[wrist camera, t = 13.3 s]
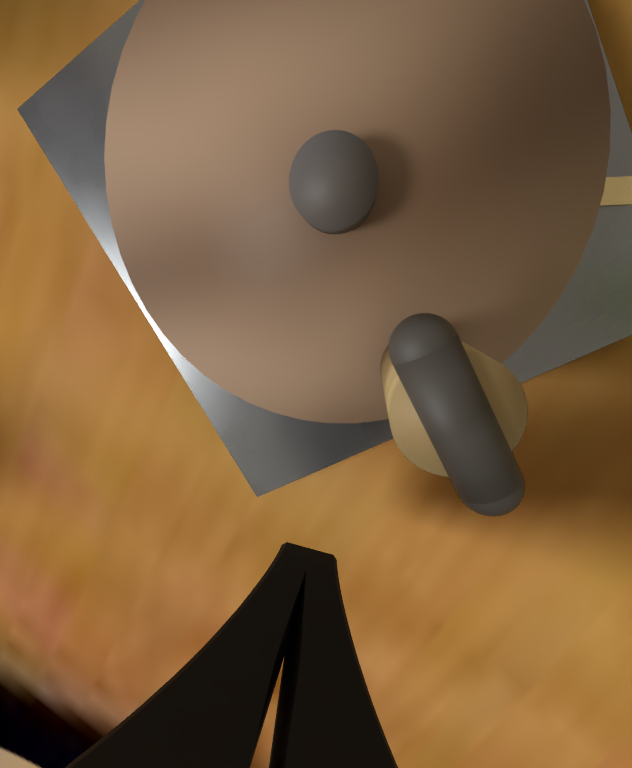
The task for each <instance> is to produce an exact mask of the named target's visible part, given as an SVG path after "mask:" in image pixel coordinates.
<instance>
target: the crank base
mask: <svg viewBox="0 0 632 768" xmlns="http://www.w3.org/2000/svg"><path fill="white" fill-rule="evenodd" d="M144 2H145V0H140V1H139V2H137V3H136V4H135V5H134V6H133V7H132V8H131V9H130V10H128V11H127V12H126V13H125V14H124V15H123V16H122V17H121V18H119V19H118V20H117V21H116V22H115V23H114V24H113V25H112V26H110V27H109V28H108V29H107V30H106V31H105V32H104V33H103V34H101V35H100V36H99V37H98V38H97V39H96V40H95V41H93V42H92V43H91V44H90V45H89V46H88V47H87V48H86V49H84V50H83V51H82V52H81V53H80V54H79V55H78V56H77V57H75V58H74V59H73V60H72V61H71V62H70V63H69V64H68V65H66V66H65V67H64V68H63V69H62V70H61V71H60V72H59V73H57V74H56V75H55V76H54V77H53V78H52V79H51V80H50V81H48V82H47V83H46V84H45V85H44V86H43V87H42V88H41V89H39V90H38V91H37V92H36V93H35V94H34V95H33V96H31V97H30V98H29V99H28V100H27V101H26V102H25V103H24V104H22V105H21V106H20V107H19V108H18V111H19V113H20V114H21V116H22V117H23V119H24V121H25V122H26V124H27V125H28V127H29V129H30V130H31V132H32V134H33V135H34V137H35V138H36V140H37V142H38V143H39V145H40V147H41V148H42V150H43V151H44V153H45V155H46V156H47V158H48V159H49V161H50V163H51V164H52V166H53V168H54V169H55V171H56V172H57V174H58V176H59V177H60V179H61V180H62V182H63V184H64V185H65V187H66V189H67V190H68V192H69V193H70V195H71V197H72V198H73V200H74V202H75V203H76V205H77V206H78V208H79V210H80V211H81V213H82V214H83V216H84V218H85V219H86V221H87V223H88V224H89V226H90V227H91V229H92V231H93V232H94V234H95V235H96V237H97V239H98V240H99V242H100V244H101V245H102V247H103V248H104V250H105V252H106V253H107V255H108V257H109V258H110V260H111V261H112V263H113V265H114V266H115V268H116V269H117V271H118V273H119V274H120V276H121V278H122V279H123V281H124V282H125V284H126V286H127V287H128V289H129V290H130V292H131V294H132V295H133V297H134V299H135V300H136V302H137V303H138V305H139V307H140V308H141V310H142V312H143V313H144V315H145V316H146V318H147V320H148V321H149V323H150V324H151V326H152V328H153V329H154V331H155V333H156V334H157V336H158V337H159V339H160V341H161V342H162V344H163V345H164V347H165V349H166V350H167V352H168V354H169V355H170V357H171V358H172V360H173V362H174V363H175V365H176V367H177V368H178V370H179V371H180V373H181V375H182V376H183V378H184V379H185V381H186V383H187V384H188V386H189V388H190V389H191V391H192V392H193V394H194V396H195V397H196V399H197V400H198V402H199V404H200V405H201V407H202V409H203V410H204V412H205V413H206V415H207V417H208V418H209V420H210V422H211V423H212V425H213V426H214V428H215V430H216V431H217V433H218V434H219V436H220V438H221V439H222V441H223V443H224V444H225V446H226V447H227V449H228V451H229V452H230V454H231V455H232V457H233V459H234V460H235V462H236V464H237V465H238V467H239V468H240V470H241V472H242V473H243V475H244V477H245V478H246V480H247V481H248V483H249V485H250V486H251V488H252V489H253V491H254V493H255V494H256V496H257V497H258V496H261V495H263V494H265V493H268V492H270V491H272V490H275V489H277V488H279V487H282V486H284V485H286V484H288V483H291V482H293V481H295V480H298V479H300V478H302V477H305V476H307V475H309V474H312V473H314V472H316V471H319V470H321V469H323V468H325V467H328V466H330V465H332V464H335V463H337V462H339V461H342V460H344V459H346V458H349V457H351V456H353V455H355V454H358V453H360V452H362V451H365V450H367V449H369V448H372V447H374V446H376V445H379V444H381V443H383V442H385V441H388V440H390V439H392V438H393V435H392V432H391V428H390V422H389V419H386V420H380V421H371V422H362V423H323V422H315V421H308V420H300V419H296V418H293V417H289V416H285V415H281V414H277V413H274V412H271V411H269V410H266V409H263V408H261V407H258V406H256V405H253V404H251V403H248V402H247V401H245V400H243V399H241V398H239V397H237V396H236V395H234V394H232V393H230V392H228V391H226V390H225V389H223V388H222V387H220V386H219V385H218V384H216V383H215V382H213V381H212V380H210V379H209V378H208V377H206V376H205V375H203V374H202V373H201V372H200V371H199V370H198V369H197V368H195V367H194V366H193V365H192V364H191V363H190V362H189V361H188V360H187V359H185V358H184V357H183V356H182V355H181V354H180V353H179V351H178V350H177V349H176V348H175V347H174V346H173V345H172V343H171V342H170V341H169V340H168V339H167V338H166V337H165V336H164V334H163V333H162V332H161V330H160V329H159V327H158V326H157V324H156V323H155V322H154V320H153V319H152V317H151V316H150V314H149V313H148V312H147V310H146V308H145V306H144V305H143V303H142V301H141V299H140V297H139V295H138V294H137V292H136V290H135V288H134V286H133V284H132V282H131V280H130V277H129V275H128V272H127V270H126V267H125V265H124V262H123V260H122V257H121V255H120V252H119V248H118V244H117V241H116V237H115V234H114V230H113V227H112V223H111V217H110V211H109V205H108V199H107V193H106V179H105V162H104V153H105V134H106V120H107V114H108V108H109V102H110V96H111V89H112V85H113V81H114V78H115V74H116V71H117V67H118V64H119V60H120V57H121V53H122V50H123V48H124V45H125V43H126V40H127V38H128V36H129V33H130V31H131V28H132V26H133V23H134V21H135V19H136V16H137V15H138V13H139V11H140V9H141V7H142V6H143V4H144ZM584 2H585V4H586V6H587V9H588V11H589V13H590V16H591V18H592V21H593V23H594V25H595V22H594V19H593V16H592V13H591V10H590V7H589V4H588V1H587V0H584ZM595 28H596V25H595ZM596 32H597V35H598V39H599V43H600V47H601V51H602V55H603V59H604V63H605V67H606V73H607V82H608V91H609V100H610V108H611V117H610V153H609V160H608V167H607V174H606V180H605V187H604V192H603V196H602V200H601V203H600V207H599V210H598V214H597V218H596V221H595V225H594V228H593V231H592V233H591V236H590V238H589V241H588V243H587V246H586V248H585V250H584V253H583V255H582V258H581V260H580V263H579V265H578V266H577V268H576V270H575V272H574V274H573V275H572V277H571V279H570V281H569V283H568V284H567V286H566V288H565V290H564V292H563V293H562V295H561V297H560V298H559V299H558V301H557V302H556V304H555V305H554V306H553V308H552V309H551V311H550V312H549V313H548V315H547V316H546V318H545V319H544V320H543V322H542V323H541V324H540V325H539V327H538V328H537V329H536V330H535V331H534V332H533V333H532V334H531V335H530V336H529V338H528V339H527V340H526V341H525V342H524V343H523V344H522V345H521V346H520V347H519V348H518V350H516V351H515V352H514V353H513V354H512V355H511V356H509V357H508V358H507V359H506V360H505V361H504V362H503V363H501V364H502V365H504V366H505V367H506V368H508V369H509V370H510V371H511V372H512V373H513V374H514V376H515V377H516V378H517V380H518V381H519V382H520V383H522V382H524V381H526V380H529V379H531V378H533V377H536V376H538V375H540V374H543V373H545V372H547V371H549V370H552V369H554V368H556V367H559V366H561V365H563V364H566V363H568V362H570V361H573V360H575V359H577V358H580V357H582V356H584V355H586V354H589V353H591V352H593V351H596V350H598V349H600V348H603V347H605V346H607V345H610V344H612V343H614V342H616V341H619V340H621V339H623V338H626V337H628V336H630V335H632V132H631V129H630V126H629V123H628V120H627V117H626V114H625V111H624V108H623V105H622V102H621V99H620V96H619V93H618V90H617V88H616V85H615V82H614V79H613V76H612V73H611V70H610V67H609V64H608V61H607V58H606V55H605V52H604V49H603V46H602V43H601V40H600V37H599V34H598V31H597V28H596Z"/></svg>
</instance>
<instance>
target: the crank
mask: <svg viewBox="0 0 632 768" xmlns="http://www.w3.org/2000/svg"><path fill="white" fill-rule="evenodd" d="M610 117H611V108H610V100H609V91H608V82H607V73H606V67H605V63H604V59H603V55H602V51H601V47H600V43H599V39H598V35H597V32H596V28H595V25H594V23H593V21H592V18H591V16H590V13H589V11H588V9H587V6H586V4H585V2H584V0H145V2H144V4H143V6H142V7H141V9H140V11H139V13H138V15H137V16H136V19H135V21H134V23H133V26H132V28H131V31H130V33H129V36H128V38H127V40H126V43H125V45H124V48H123V50H122V53H121V57H120V60H119V64H118V67H117V71H116V74H115V78H114V81H113V85H112V89H111V96H110V102H109V108H108V114H107V120H106V134H105V153H104V162H105V179H106V193H107V199H108V205H109V211H110V217H111V223H112V227H113V230H114V234H115V237H116V241H117V244H118V248H119V252H120V255H121V257H122V260H123V262H124V265H125V267H126V270H127V272H128V275H129V277H130V280H131V282H132V284H133V286H134V288H135V290H136V292H137V294H138V295H139V297H140V299H141V301H142V303H143V305H144V306H145V308H146V310H147V312H148V313H149V314H150V316H151V317H152V319H153V320H154V322H155V323H156V324H157V326H158V327H159V329H160V330H161V332H162V333H163V334H164V336H165V337H166V338H167V339H168V340H169V341H170V342H171V343H172V345H173V346H174V347H175V348H176V349H177V350H178V351H179V353H180V354H181V355H182V356H183V357H184V358H185V359H187V360H188V361H189V362H190V363H191V364H192V365H193V366H194V367H195V368H197V369H198V370H199V371H200V372H201V373H202V374H203V375H205V376H206V377H208V378H209V379H210V380H212V381H213V382H215V383H216V384H218V385H219V386H220V387H222V388H223V389H225V390H226V391H228V392H230V393H232V394H234V395H236V396H237V397H239V398H241V399H243V400H245V401H247V402H248V403H251V404H253V405H256V406H258V407H261V408H263V409H266V410H269V411H271V412H274V413H277V414H281V415H285V416H289V417H293V418H296V419H300V420H308V421H315V422H323V423H362V422H371V421H380V420H386V419H389V422H390V428H391V432H392V435H393V438H394V440H395V443H396V445H397V446H398V448H399V449H400V451H401V452H402V453H403V455H404V456H405V457H406V458H407V459H408V460H409V461H410V462H412V463H413V464H414V465H416V466H417V467H419V468H421V469H423V470H424V471H427V472H430V473H432V474H436V475H439V476H446V477H449V478H450V480H451V482H452V484H453V486H454V488H455V490H456V492H457V494H458V496H459V497H460V499H461V500H462V502H463V503H464V504H465V505H466V506H467V507H469V508H470V509H471V510H473V511H475V512H477V513H479V514H482V515H486V516H501V515H504V514H507V513H509V512H511V511H512V510H514V509H515V508H516V507H517V506H518V505H519V503H520V502H521V500H522V498H523V495H524V490H525V484H524V479H523V475H522V473H521V471H520V468H519V466H518V464H517V462H516V460H515V458H514V455H513V453H512V451H513V450H514V449H515V448H516V446H517V445H518V443H519V441H520V440H521V438H522V435H523V433H524V431H525V427H526V423H527V416H528V407H527V400H526V396H525V393H524V390H523V388H522V386H521V384H520V382H519V381H518V380H517V378H516V377H515V376H514V374H513V373H512V372H511V371H510V370H509V369H508V368H506V367H505V366H504V365H502V364H501V363H503V362H504V361H505V360H506V359H507V358H508V357H509V356H511V355H512V354H513V353H514V352H515V351H516V350H518V348H519V347H520V346H521V345H522V344H523V343H524V342H525V341H526V340H527V339H528V338H529V336H530V335H531V334H532V333H533V332H534V331H535V330H536V329H537V328H538V327H539V325H540V324H541V323H542V322H543V320H544V319H545V318H546V316H547V315H548V313H549V312H550V311H551V309H552V308H553V306H554V305H555V304H556V302H557V301H558V299H559V298H560V297H561V295H562V293H563V292H564V290H565V288H566V286H567V284H568V283H569V281H570V279H571V277H572V275H573V274H574V272H575V270H576V268H577V266H578V265H579V263H580V260H581V258H582V255H583V253H584V250H585V248H586V246H587V243H588V241H589V238H590V236H591V233H592V231H593V228H594V225H595V221H596V218H597V214H598V210H599V207H600V203H601V200H602V196H603V192H604V187H605V180H606V174H607V167H608V160H609V153H610Z"/></svg>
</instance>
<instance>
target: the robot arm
mask: <svg viewBox="0 0 632 768" xmlns="http://www.w3.org/2000/svg"><path fill="white" fill-rule="evenodd" d="M284 655H285V656H284ZM283 659H284V663H283V670H282V677H281V684H280V691H279V698H278V706H277V713H276V720H275V727H274V735H273V742H272V749H271V756H270V763H269V768H398V767H397V764H396V762H395V759H394V757H393V755H392V752H391V750H390V747H389V745H388V743H387V740H386V737H385V735H384V732H383V730H382V727H381V724H380V722H379V719H378V717H377V714H376V711H375V709H374V706H373V703H372V700H371V697H370V694H369V692H368V689H367V686H366V683H365V680H364V676H363V673H362V670H361V667H360V664H359V661H358V658H357V654H356V651H355V647H354V644H353V640H352V636H351V633H350V629H349V625H348V621H347V617H346V613H345V609H344V605H343V600H342V595H341V590H340V584H339V578H338V571H337V560H336V558H335V557H334V555H332V554H328V553H324V552H321V551H317V550H313V549H310V548H306V547H302V546H299V545H295V544H291V543H288V542H287V543H285V544H283V545H282V546H281V548H280V550H279V552H278V554H277V556H276V557H275V559H274V561H273V562H272V564H271V565H270V567H269V568H268V570H267V571H266V573H265V574H264V576H263V577H262V578H261V580H260V581H259V582H258V584H257V585H256V586H255V588H254V589H253V590H252V591H251V593H250V594H249V595H248V597H247V598H246V599H245V600H244V602H243V603H242V604H241V605H240V607H239V608H238V609H237V610H236V611H235V612H234V614H233V615H232V616H231V617H230V618H229V619H228V620H227V621H226V623H225V624H224V625H223V626H222V627H221V628H220V629H219V630H218V632H217V633H216V634H215V635H214V636H213V637H212V638H211V639H210V640H209V641H208V642H207V643H206V644H205V646H204V647H203V648H202V649H201V650H200V651H199V652H198V653H197V654H196V655H195V656H194V657H193V658H192V659H191V660H190V661H189V662H188V663H187V664H186V665H185V666H184V667H183V668H182V669H180V670H179V671H178V672H177V673H176V674H175V675H174V676H173V677H172V678H171V679H170V680H169V681H168V682H167V683H165V684H164V685H163V686H162V687H161V688H160V689H159V690H158V691H157V692H156V693H154V694H153V695H152V696H151V697H150V698H149V699H148V700H147V701H146V702H145V703H143V704H142V705H141V706H140V707H139V708H138V709H136V710H135V711H134V712H133V713H132V714H131V715H130V716H128V717H127V718H126V719H125V720H124V721H122V722H121V723H120V724H119V725H118V726H116V727H115V728H114V729H113V730H111V731H110V732H109V733H108V734H106V735H105V736H104V737H103V738H101V739H100V740H99V741H98V742H96V743H95V744H94V745H93V746H91V747H90V748H89V749H88V750H86V751H85V752H84V753H83V754H81V755H80V756H79V757H78V758H76V759H75V760H74V761H73V762H71V763H70V764H69V765H68V766H66V767H65V768H250V765H251V762H252V759H253V756H254V753H255V749H256V746H257V743H258V740H259V736H260V733H261V730H262V727H263V723H264V720H265V717H266V714H267V710H268V707H269V704H270V701H271V698H272V694H273V691H274V688H275V685H276V681H277V678H278V675H279V672H280V668H281V665H282V662H283Z"/></svg>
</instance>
